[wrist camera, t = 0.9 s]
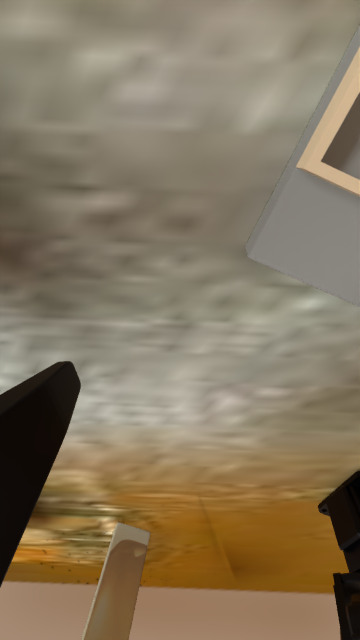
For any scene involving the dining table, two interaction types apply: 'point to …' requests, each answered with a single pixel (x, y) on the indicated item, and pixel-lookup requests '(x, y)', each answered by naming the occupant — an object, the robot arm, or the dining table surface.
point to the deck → (320, 195)
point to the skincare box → (118, 586)
